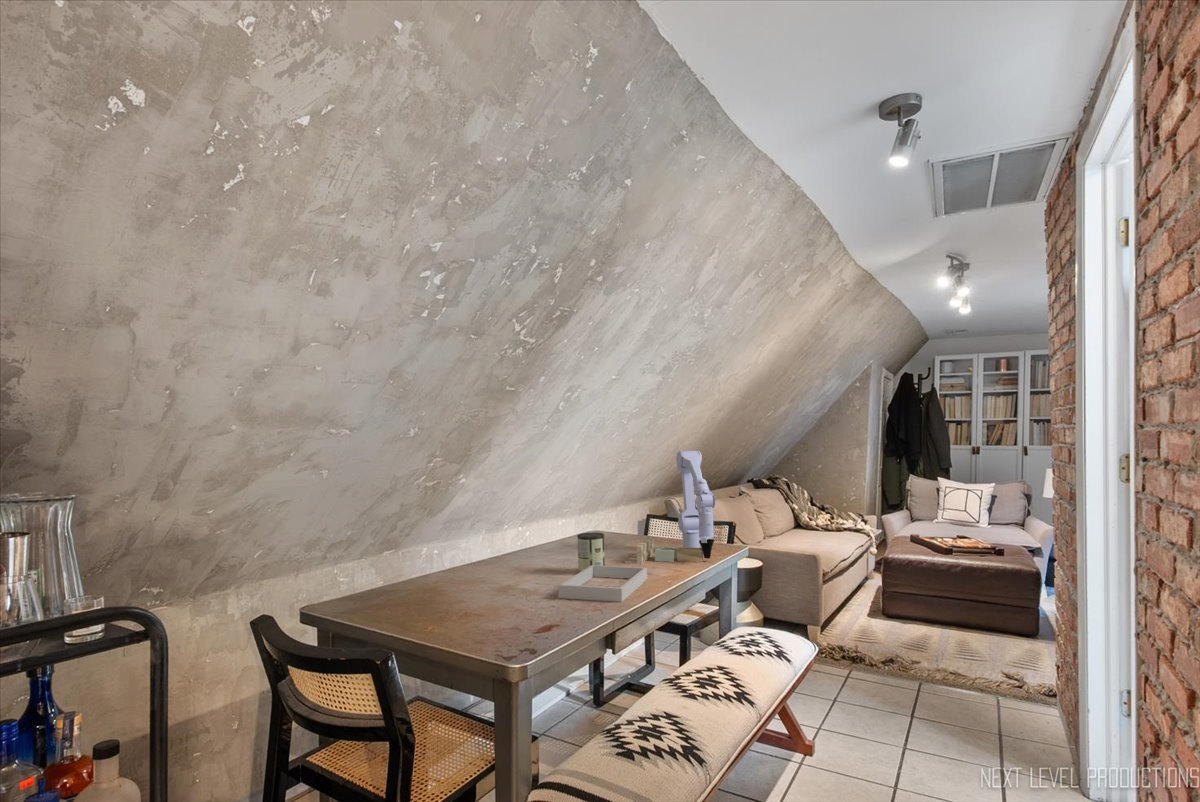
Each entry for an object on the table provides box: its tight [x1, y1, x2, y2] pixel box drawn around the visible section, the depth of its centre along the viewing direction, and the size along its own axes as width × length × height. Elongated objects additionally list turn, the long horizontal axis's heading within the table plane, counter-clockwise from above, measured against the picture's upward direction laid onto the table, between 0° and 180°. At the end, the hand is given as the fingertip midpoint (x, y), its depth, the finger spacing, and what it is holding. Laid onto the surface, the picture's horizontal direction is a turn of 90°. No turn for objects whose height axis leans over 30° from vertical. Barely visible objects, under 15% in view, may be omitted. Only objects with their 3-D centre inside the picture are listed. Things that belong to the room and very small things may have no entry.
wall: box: [624, 537, 655, 564], centre depth 262 cm, size 20×7×7 cm, turn 162°
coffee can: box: [576, 532, 606, 573], centre depth 240 cm, size 10×10×14 cm
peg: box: [676, 546, 704, 563], centre depth 256 cm, size 4×10×5 cm, turn 72°
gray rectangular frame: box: [558, 565, 648, 603], centre depth 213 cm, size 32×21×4 cm, turn 162°
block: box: [654, 546, 678, 563], centre depth 259 cm, size 9×8×4 cm
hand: (707, 558), depth 253 cm, fingers closed
